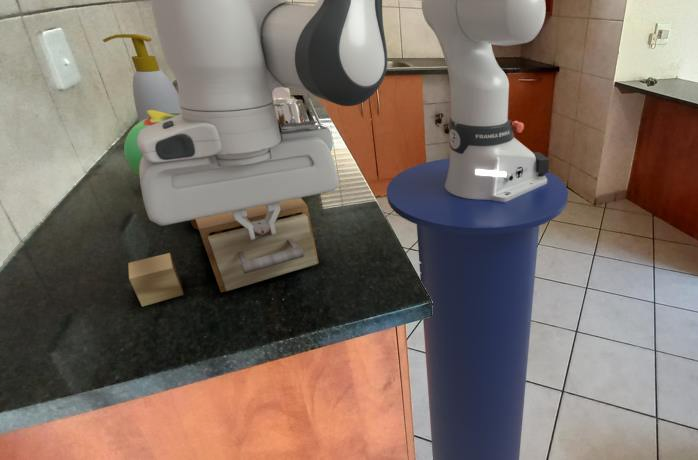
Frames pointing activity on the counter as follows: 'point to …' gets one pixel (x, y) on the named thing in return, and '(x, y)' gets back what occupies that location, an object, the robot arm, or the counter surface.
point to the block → (155, 279)
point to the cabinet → (227, 221)
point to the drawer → (263, 252)
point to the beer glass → (287, 110)
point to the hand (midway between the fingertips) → (262, 235)
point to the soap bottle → (150, 81)
